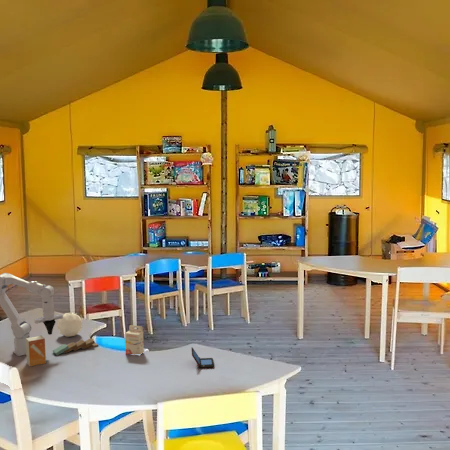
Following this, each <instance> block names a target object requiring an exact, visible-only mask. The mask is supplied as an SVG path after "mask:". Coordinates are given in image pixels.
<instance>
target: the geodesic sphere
mask: <svg viewBox="0 0 450 450" xmlns="http://www.w3.org/2000/svg"><path fill="white" fill-rule="evenodd" d="M62 315H63V319H58V320H57V321H58V323H57V329H58V331H59V334H61V335H63V336H65V337H66V338H68V337H69V338H70V337H75V336H77V335H78V333H80V332H81V330H82V328H83V327H82V326H83V321H82V318H81V317H80V315H78V312H65V313H64V314H62Z"/></svg>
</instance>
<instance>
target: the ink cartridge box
mask: <svg viewBox="0 0 450 450" xmlns="http://www.w3.org/2000/svg"><path fill="white" fill-rule="evenodd" d="M128 328H129V330H128V331H126V332H125V334H124V340H125V341H124V344H125V346H124V347H125V355H127V354H141V353H143V352H144V351H145V350H144V347H145V346H144V344H145V343H144V329H143V328H144V327H143V326H142V325H141V326H140V325H131V324H130V325H129V327H128ZM144 353H145V352H144ZM144 353H143V354H144Z"/></svg>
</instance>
